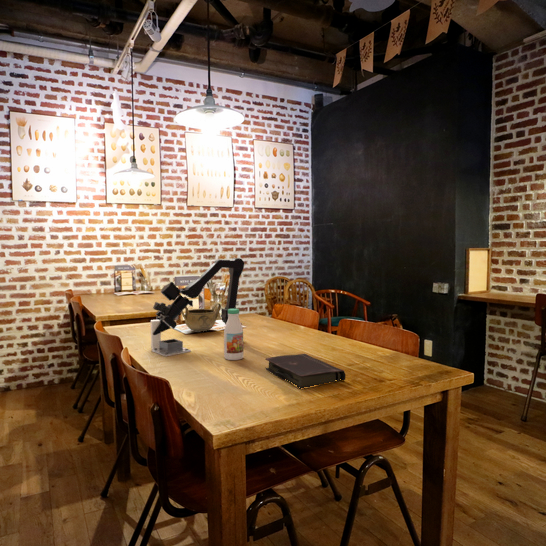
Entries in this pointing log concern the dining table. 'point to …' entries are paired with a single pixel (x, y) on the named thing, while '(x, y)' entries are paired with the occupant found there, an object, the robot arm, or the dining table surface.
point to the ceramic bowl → (201, 318)
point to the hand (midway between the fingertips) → (152, 333)
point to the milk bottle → (233, 336)
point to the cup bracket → (170, 347)
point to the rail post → (155, 338)
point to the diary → (304, 370)
